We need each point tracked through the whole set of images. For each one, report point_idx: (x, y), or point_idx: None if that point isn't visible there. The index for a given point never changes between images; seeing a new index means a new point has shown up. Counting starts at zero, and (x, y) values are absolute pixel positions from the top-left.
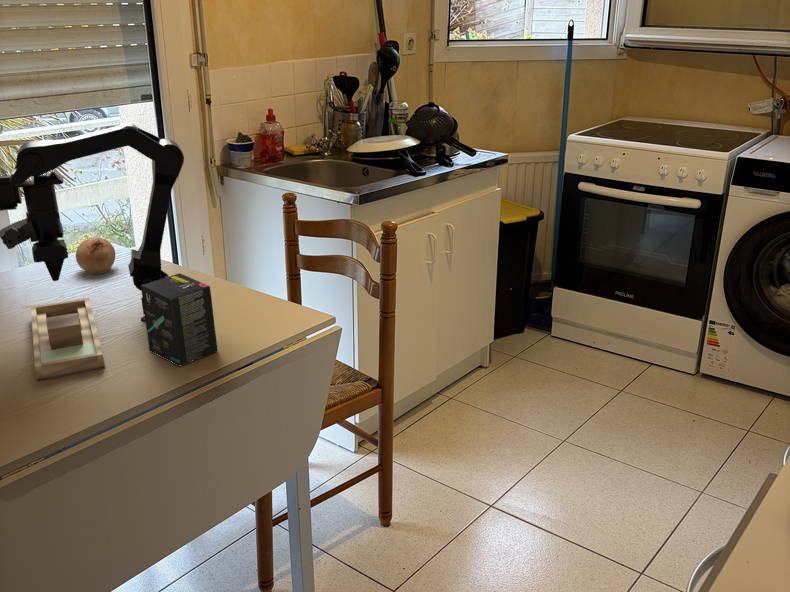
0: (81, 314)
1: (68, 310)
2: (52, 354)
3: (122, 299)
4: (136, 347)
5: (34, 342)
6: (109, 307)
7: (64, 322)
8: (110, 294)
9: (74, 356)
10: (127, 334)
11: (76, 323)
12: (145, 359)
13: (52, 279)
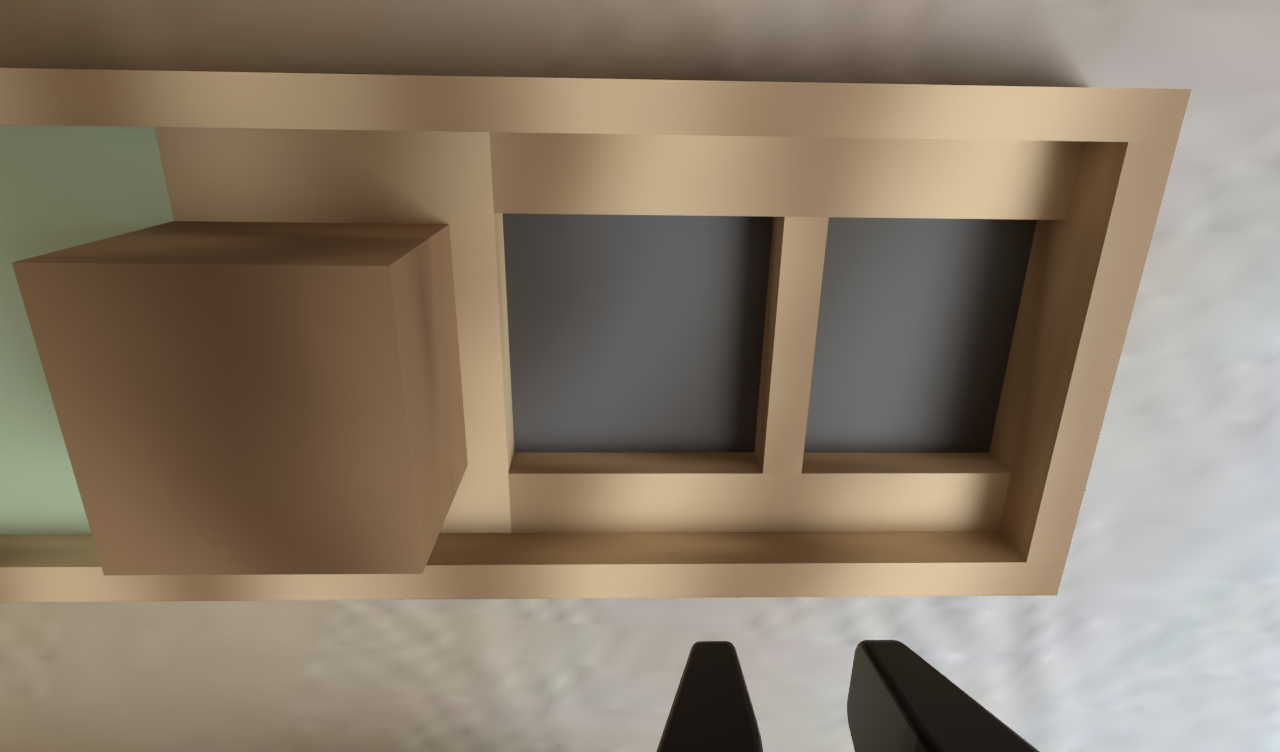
0: (836, 492)
1: (1016, 400)
2: (79, 225)
3: (1055, 716)
4: (232, 715)
5: (199, 83)
6: (968, 638)
7: (186, 445)
8: (1199, 662)
9: (2, 388)
10: (453, 691)
11: (130, 548)
12: (41, 739)
13: (687, 664)
